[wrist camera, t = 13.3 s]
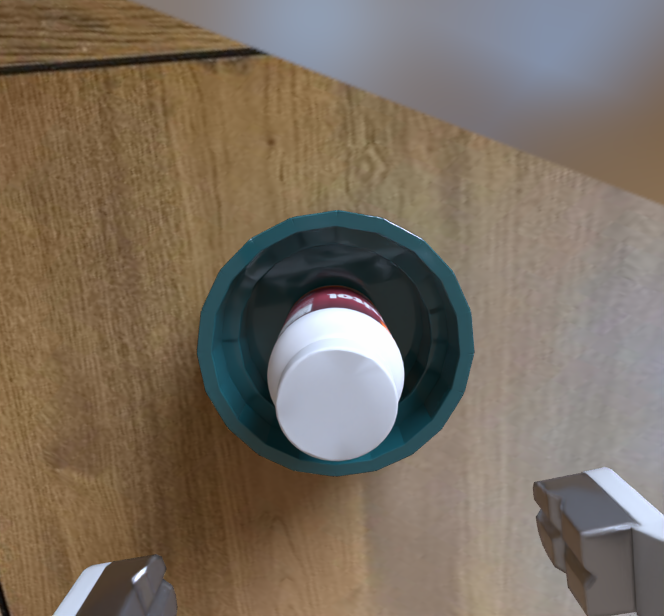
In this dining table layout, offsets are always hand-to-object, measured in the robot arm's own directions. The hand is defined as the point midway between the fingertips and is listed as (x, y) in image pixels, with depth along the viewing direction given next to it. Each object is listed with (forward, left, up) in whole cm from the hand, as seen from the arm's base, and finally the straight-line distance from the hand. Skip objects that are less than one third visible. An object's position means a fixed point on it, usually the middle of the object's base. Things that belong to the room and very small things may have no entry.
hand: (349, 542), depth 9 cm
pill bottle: (0, 0, -18) cm, 18 cm away
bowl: (0, 0, -18) cm, 18 cm away
